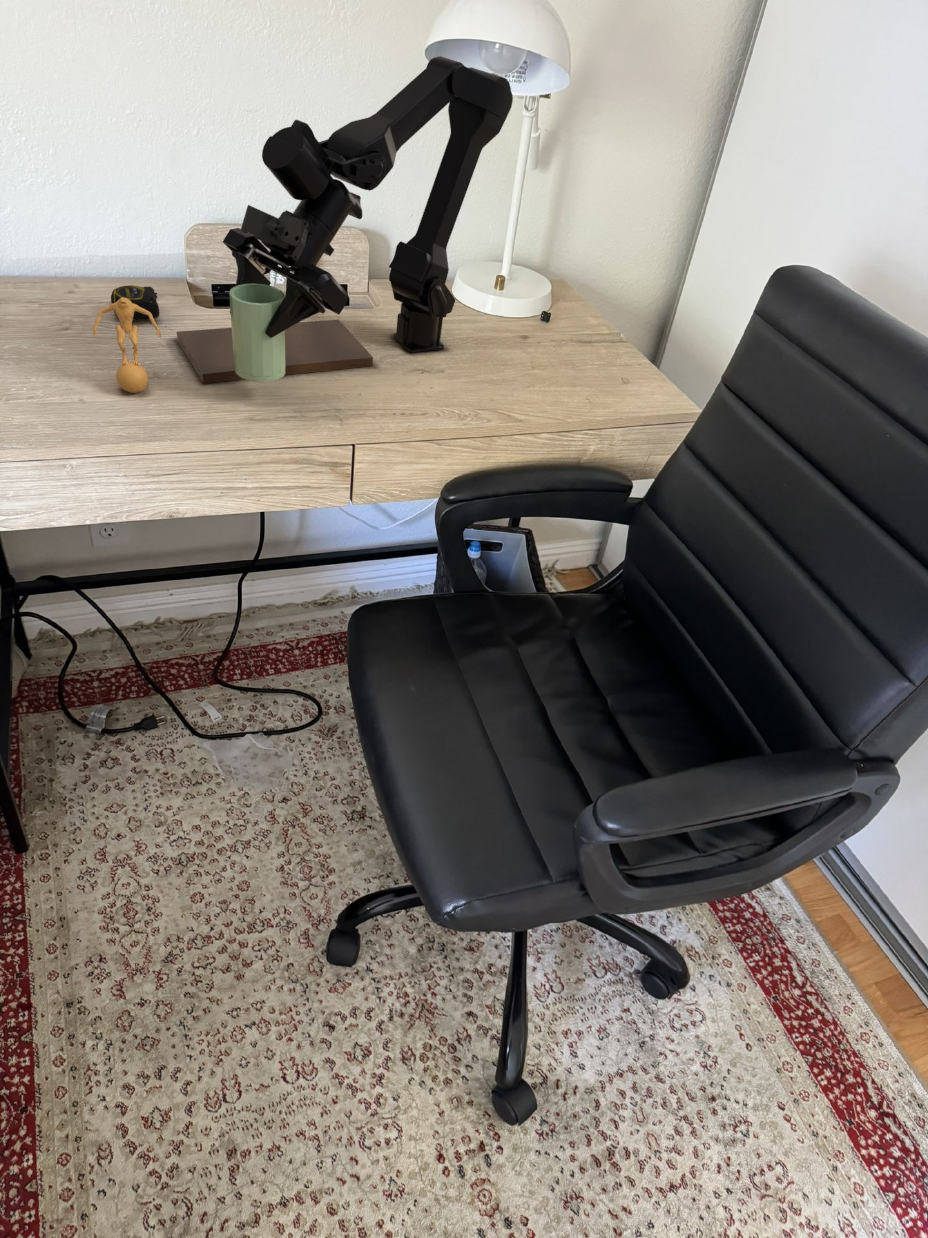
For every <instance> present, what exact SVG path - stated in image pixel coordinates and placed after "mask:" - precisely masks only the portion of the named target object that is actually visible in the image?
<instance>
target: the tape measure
mask: <svg viewBox="0 0 928 1238" xmlns="http://www.w3.org/2000/svg"><path fill="white" fill-rule="evenodd" d="M121 297H123V298H127V299H129V300H130V301H131V302H132V303H133V304H136V305H138V306H139V307H141V308H143V309H145V310H147V311H149V312H150V313H151V314H152V316H153V319H154V320H155V319H157V318H159V316H160V307H159V303H158V301H157V299H158V292H155V289H154V288H153V287H152V286H139V285H132V284H131V285H130V284H129V285H121V286H118V287H115V288H114V289H113V290H112V292H111V295H110V305H111V304H112V303H116V302H117V301H118V300H119V299H120V298H121ZM113 312H114V314H116V311H115V310H113ZM146 320H150V318H149V316H148V315H145V314H143V313H140V312H137V311H135V312H134V316H133V320H132V321H146Z"/></svg>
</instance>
